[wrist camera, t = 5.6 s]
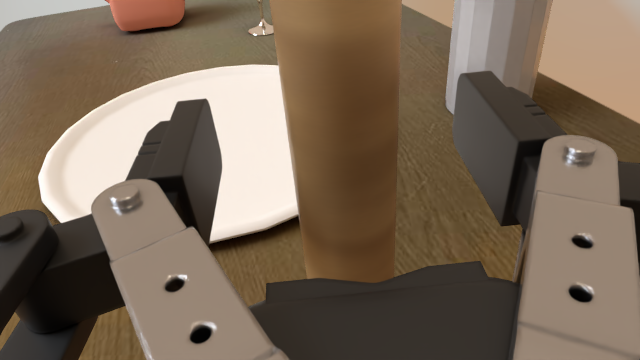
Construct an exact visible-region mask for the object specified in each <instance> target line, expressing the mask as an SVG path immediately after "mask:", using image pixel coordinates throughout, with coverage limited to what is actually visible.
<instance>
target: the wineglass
mask: <svg viewBox="0 0 640 360" xmlns="http://www.w3.org/2000/svg"><path fill="white" fill-rule="evenodd" d="M256 1H257V2H258V5H259V10H260V17H261V21H260V24H259V25H258V26H255V27H252V28H251V29H249V31H248V32H249V33H250V34H252V35H268V34H272V33H274V30H273V24H267V23H266V22H265V19H264V15H263V7H262V1H263V0H256Z"/></svg>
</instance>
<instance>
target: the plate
mask: <svg viewBox="0 0 640 360" xmlns="http://www.w3.org/2000/svg"><path fill="white" fill-rule="evenodd" d="M205 98H206V99H207V100H208V102H209V105H210V108H211V112H212V116H213V121H214V125H215V129H216V133H217V137H218V141H219V146H220V150H221V156H222V174H221V180H220V186H219V191H218V197H217V203H216V208H215V214H214V219H213V225H212V231H211V236H210V242H209V244H210V243H214V242H218V241H222V240H226V239H230V238H235V237H239V236H243V235H247V234H251V233H255V232H259V231H263V230H267V229H269V228H271V227H274V226H276V225H278V224H280V223H283V222H285V221H287V220H290V219H292V218H294V217H296V216H299V215H298V207H297V200H296V193H295V185H294V178H293V171H292V163H291V156H290V148H289V141H288V134H287V126H286V119H285V112H284V104H283V97H282V89H281V82H280V75H279V67H278V65H242V66H229V67H218V68H213V69H207V70H201V71H196V72H190V73H185V74H182V75H178V76H174V77H171V78H167V79H164V80H160V81H156V82H153V83H151V84H148V85H145V86H143V87H140V88H138V89H135V90H133V91H130V92H128V93H125V94H122V95H120V96H119V97H117V98H115V99H113V100H111V101H109V102H107V103H106V104H104V105H102V106H100V107H98V108H96V109H94V110H93V111H91V112H90V113H89V114H87V115H86V116H85V117H83V118H82V119H81V120H79V121H78V122H77V123H75V124H74V125H73V126H71V127H70V128H69V129H67V131H66V132H65V133H64V134H63V135H62V136H61V138H60V139H59V140H58V141H57V142H56V143H55V145H54V146H53V147H52V148H51V149H50V150H49V152H48V153H47V155H46V158H45V161H44V163H43V166H42V168H41V171H40V174H39V176H38V179H39V186H40V192H41V198H42V202H43V203H44V205H45V206H46V207H47V208H48V209H49V210H50V211H51V212H52V213H53V215H54V216H55V217H56V218H57V219H58V220H59V221H60V222H61V223H63V222H67V221H70V220H73V219H77V218H80V217H83V216H86V215H89V214H91V213H92V212H91V205H92V203H93V201H94V200H95V198H96V197H97V196H98V195H99V194H100V193H101V192H103V191H104V190H106V189H107V188H109V187H111V186H113V185H115V184H117V183H120V182H123V181H125V180H126V178H127V175H128V173H129V171H130V169H131V167H132V165H133V162H134V160H135V158H136V156H137V155H138V152H139V149H140V147H141V146H142V143H143V141H144V139H145V136H146V134H147V132H148V131H149V130H151V129H152V128H153V127H154V126H155V125H156V124H158V123H159V122H160V121H169V120H170V118H171V116H172V113H173V111H174V108H175V106H176V103H177V102H178V101H185V100H195V99H205Z"/></svg>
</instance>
